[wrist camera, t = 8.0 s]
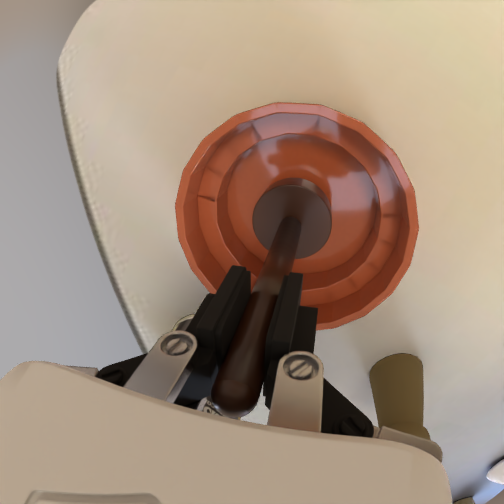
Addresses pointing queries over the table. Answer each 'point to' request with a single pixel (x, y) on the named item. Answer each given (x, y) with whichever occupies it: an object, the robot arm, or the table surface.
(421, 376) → the pepper mill
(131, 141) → the table surface
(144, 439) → the robot arm
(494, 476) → the flower in vase
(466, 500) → the squeeze bottle
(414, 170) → the table surface
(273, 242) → the brown disc-ended rod
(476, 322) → the table surface
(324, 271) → the bowl
